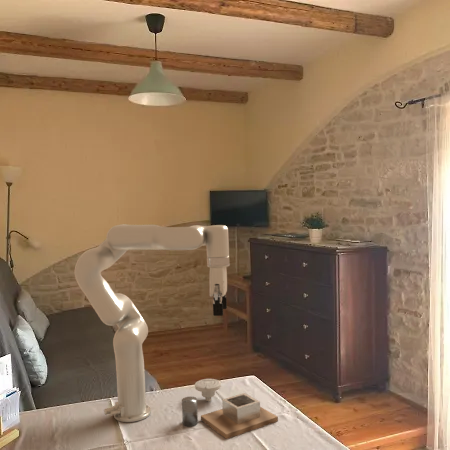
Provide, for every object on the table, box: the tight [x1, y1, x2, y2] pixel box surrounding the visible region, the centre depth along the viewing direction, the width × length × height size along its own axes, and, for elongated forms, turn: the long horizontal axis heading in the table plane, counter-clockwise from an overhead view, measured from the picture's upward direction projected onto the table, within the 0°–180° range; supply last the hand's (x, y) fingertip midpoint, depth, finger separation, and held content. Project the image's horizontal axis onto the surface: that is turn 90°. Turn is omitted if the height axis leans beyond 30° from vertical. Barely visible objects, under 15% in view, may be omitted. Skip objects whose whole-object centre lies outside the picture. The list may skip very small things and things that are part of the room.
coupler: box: [181, 396, 199, 428], centre depth 159 cm, size 5×5×8 cm
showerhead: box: [194, 377, 222, 402], centre depth 177 cm, size 9×7×10 cm
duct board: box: [200, 392, 279, 440], centre depth 160 cm, size 20×16×6 cm
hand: (220, 312), depth 164 cm, fingers open, 9 cm apart
